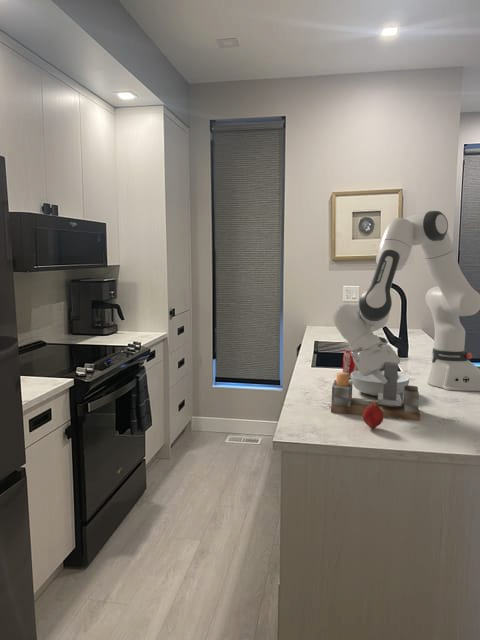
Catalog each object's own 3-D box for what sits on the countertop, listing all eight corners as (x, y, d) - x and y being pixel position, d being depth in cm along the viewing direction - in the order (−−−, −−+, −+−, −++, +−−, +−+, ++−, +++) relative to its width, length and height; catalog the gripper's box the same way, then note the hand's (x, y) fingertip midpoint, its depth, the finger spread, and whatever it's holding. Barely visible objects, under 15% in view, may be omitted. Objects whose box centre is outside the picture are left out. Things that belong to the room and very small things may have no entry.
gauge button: (348, 396, 167) (349, 372, 166) (347, 399, 163) (348, 375, 162) (336, 395, 168) (337, 372, 167) (335, 398, 164) (336, 374, 163)
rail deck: (416, 409, 165) (418, 383, 164) (419, 420, 154) (421, 392, 153) (333, 401, 172) (334, 377, 171) (330, 412, 161) (331, 385, 160)
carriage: (400, 399, 164) (402, 361, 163) (401, 405, 157) (403, 367, 155) (378, 397, 166) (379, 360, 165) (378, 404, 159) (380, 365, 157)
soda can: (360, 380, 204) (361, 351, 202) (342, 379, 205) (343, 350, 203) (359, 376, 210) (360, 348, 209) (342, 375, 212) (343, 347, 210)
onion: (359, 425, 149) (360, 399, 148) (378, 425, 149) (379, 399, 148) (366, 432, 143) (367, 405, 142) (385, 431, 143) (387, 404, 142)
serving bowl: (421, 397, 180) (422, 378, 179) (378, 405, 170) (379, 385, 169) (378, 384, 198) (379, 367, 197) (338, 390, 188) (338, 372, 187)
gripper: (355, 344, 157) (382, 380, 151) (388, 337, 171) (413, 370, 165) (342, 356, 160) (368, 392, 155) (375, 348, 175) (400, 381, 169)
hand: (392, 381), depth 160 cm, fingers closed on carriage, 5 cm apart
